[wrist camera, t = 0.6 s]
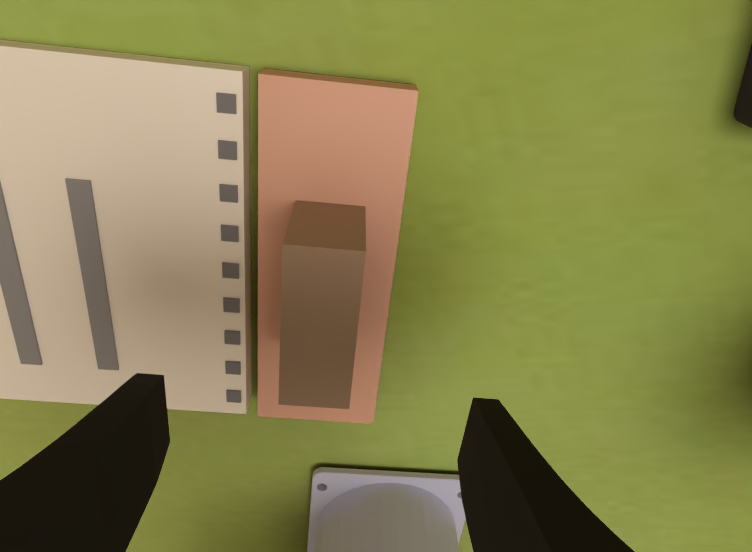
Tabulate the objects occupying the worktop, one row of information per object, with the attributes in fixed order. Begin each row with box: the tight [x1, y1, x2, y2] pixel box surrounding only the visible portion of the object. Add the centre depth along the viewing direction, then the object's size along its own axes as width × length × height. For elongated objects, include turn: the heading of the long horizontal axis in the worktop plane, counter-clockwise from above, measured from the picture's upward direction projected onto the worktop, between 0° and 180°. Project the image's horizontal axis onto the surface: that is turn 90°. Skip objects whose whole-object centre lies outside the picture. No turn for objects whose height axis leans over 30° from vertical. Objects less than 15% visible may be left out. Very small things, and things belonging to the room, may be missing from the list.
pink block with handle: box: [258, 68, 419, 424], centre depth 19 cm, size 14×5×5 cm, turn 174°
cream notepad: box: [0, 40, 251, 414], centre depth 20 cm, size 14×12×1 cm
